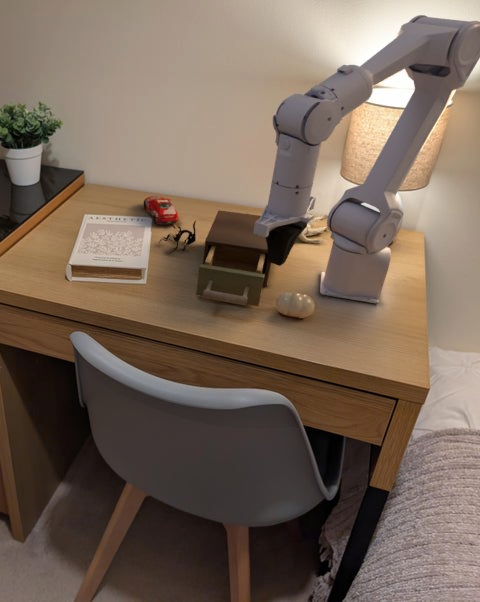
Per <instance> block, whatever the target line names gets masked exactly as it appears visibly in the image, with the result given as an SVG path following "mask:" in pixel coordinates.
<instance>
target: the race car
mask: <svg viewBox="0 0 480 602" xmlns="http://www.w3.org/2000/svg"><path fill="white" fill-rule="evenodd" d="M143 209H144V210H146V212H147V213H148V215H149V216H150V218H151V219H152V220H153V223H154V224H158V225H162V226H163V225H165V226H166V225H175V224H177V223H179V213H178V211H177V209H176V208H175V207H174V205H173V203H172V202H171V199H170V198H165V197H163V196H158V195H152V196H151V195H150V196H148V197H146V198H145V199H144V200H143Z"/></svg>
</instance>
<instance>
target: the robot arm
mask: <svg viewBox="0 0 480 602" xmlns="http://www.w3.org/2000/svg"><path fill="white" fill-rule="evenodd" d="M479 60H480V21H479V20H470V21H468V20H461V19H449V18H441V17H431V16H427V15H424V14H419V15H416V16H414V17H412V18H411V19H410V20H409V21H408V22H406V23H403V24H402V25H401V26H400V28H399V30H398V32H397V35H396V37H395V38H394V39H393V40H392V41H390V42H389V43H387V44H386V45H385V46H384V47H383V48H380V50H379V51H377V52H376V53H375V54H374V55H372V56H371V57H369V59H367V60H366V61H365V62H364V63H362V64H361V65H360V66H359V65H357V64H343V65H341V66H339V67H338V68H337V69H336V72H335V73H333V74H332V75H330V76H328V77H327V78H325V79H324V80H322V81H321V82H320V83H318V84H315V85H313V86H312V87H311V88H310V89H309V90H307V91H306V92H304V94H302V93H294V94H291V95H290V96H288V97H287V98H285V99H284V100H283V101H282V102H281V103H280V104H279V105H278V108H277V109H276V112H275V114H273V116H272V127H273V129H274V131H275V144H276V146H277V149H276V155H275V160H274V167H273V170H272V171H273V172H272V177H271V184H270V189H269V195H268V200H267V204H266V205H265V208H264V209H263V211H262V212H261V213H262V214H261V215H260V216H261V217H260V219H259V220H257V221H256V222H255V226H254V232H253V234H256V235H259V236H262V237H264V238H266V242H267V249H268V259H269V262H270V263H271V264H273V265H275V266H278V267H281V266H283V264H285V263H286V261H287V259H288V257H289V256H290V253H291V251H292V250H293V247H294V245H295V243H296V241H297V240H298V239H299V238H298V237H299V235H300V234H301V233H302V231H303V230H304V229H305V228H306V227H307V222H309V221H311V220H313V218H315V217H314V216H315V215H314V214H313V213H310V211H312V210H314V208H315V204H316V199H317V197H316V196H311V194H312V188H313V186H314V185H313V184H314V180H315V176H316V171H317V166H318V161H319V157H320V151H321V147H322V143H323V142H327V140H328V139H329V138H330V137H331V135H332V134H333V132H334V130H335V129H336V127H337V126H338V125H339V124H340V123H341V121H342V120H343V118H344V117H346V116H347V115H349V114H351V113H352V112H353V111H354V110H356V109H358V108H359V107H361V106H362V105H364V104H365V103H367V102H368V101H369V100H370V99H371V97H372V95H373V91H374V88H375V87H377V86H378V85H380V84H381V83H384V82H385V81H387V80H388V79H390V78H392V77H393V76H395V75H397V74H399V73H401V72H402V71H404V70H405V72H406V74H407V75H406V76H407V77H408V78H409V79H410V80H412V82H413V85H414V86H413V87H414V91H413V92H412V94H411V96H410V98H409V99H408V101H407V103H406V105H405V107H404V109H403V111H402V113H401V114H400V116H399V118H398V120H397V122H396V124H395V125H394V127H393V129H392V130H391V132H390V134H389V136H388V138H387V140H386V141H385V144H384V146H383V147H382V149H381V150H380V152H379V155H378V156H377V158H376V160H375V161H374V163H373V166H372V167H371V169H370V170H369V172H368V174H367V176H366V178H365V180H364V182H363V183H361V184H359V185H357V186H353V187H351V188H348V189H346V190H345V191H344V192H343V194H342V196H341V198H340V199H339V200H338V201H337V203H335V204H334V205H333V206H332V207H331V209H330V210H329V213H328V214H327V215H328V217H327V219H326V226H327V227H328V229H329V230H328V231H330V239H332V244H331V249H330V252H329V257H328V261H327V265H326V268H325V271H321V272H320V282H319V294H320V295H324V296H327V297H335V298H339V299H340V298H341V299H346V300H351V301H358V302H364V303H370V304H379V302H380V296H381V294H382V290H383V286H384V284H385V281H386V278H387V274H388V271H389V268H390V264H391V257H392V249H391V248H390V247H389V246H390V245H391V243H392V242H393V241H394V239H395V237H396V236H397V232H398V227H399V225H400V222H401V220H402V218H403V216H404V211H403V208H402V207H401V204H400V203H399V200H398V199H397V196H396V195H397V194H398V192H399V190H400V189H401V187H402V185H403V183H404V182H405V180H406V178H407V176H408V175H409V173H410V171H411V169H412V168H413V166H414V165H415V162H416V161H417V159H418V158H419V156H420V154H421V152H422V150H423V149H424V147H425V145H426V143H427V142H428V140H429V138H430V137H431V135H432V133H433V132H434V129H435V128H436V126H437V124H438V122H439V121H440V119H441V118H442V115H443V114H444V112H445V110H446V108H447V107H448V105H449V104H450V101H451V100H452V98H453V96H454V95H455V93H456V91H457V90H458V89H462V88H463V87H464V86H465V84H466V83H467V80H468V79H469V77H470V76H471V74H472V72H473V70H474V69H475V67H476V65H477V64H478V62H479ZM364 204H367V205H369V206H371V207H374V208H376V209H377V210H378V211H377V210H376V209H373V208H370V207H368V206H366V205H364Z"/></svg>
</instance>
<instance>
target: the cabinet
mask: <svg viewBox="0 0 480 602" xmlns="http://www.w3.org/2000/svg"><path fill="white" fill-rule="evenodd" d="M260 217H261V215H256V214H251V213H250V214H249V213H241V212H235V211H234V212H233V211H226V210H221V209H220V210H219V209H218V210H217V213H216V215H215V217H214V220H213V222H212V224H211V227H210V229H209V230H208V233H207V236H206V238H205V241H204V248H203V257H202V264H204V265H205V261H206V258H207V256H208V254H209V251H210V249H211V246H212V245H215V246H222V247H229V248H235V249H242V250H249V251H255V252H262V253H266V257H265V262H264V268H263V272H262V274H265V275H264V280H263V286H262V287H267V286H268V281H269V276H270V273H271V267H272V263H270V262H269V259H268V249H267V242H266V238H264V237H262V236H259V235H256V234H253V232H254V226H255V222H256V221H257V220H259V219H260Z"/></svg>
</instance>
